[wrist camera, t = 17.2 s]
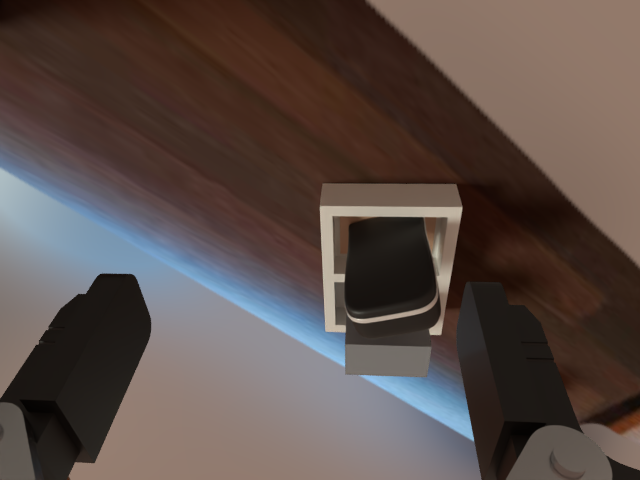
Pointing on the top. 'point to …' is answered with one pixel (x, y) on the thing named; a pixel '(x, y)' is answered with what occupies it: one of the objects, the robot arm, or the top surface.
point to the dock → (336, 215)
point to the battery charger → (390, 277)
